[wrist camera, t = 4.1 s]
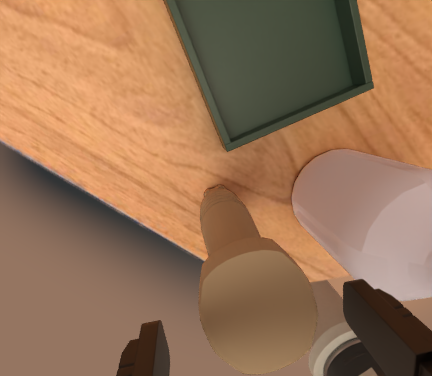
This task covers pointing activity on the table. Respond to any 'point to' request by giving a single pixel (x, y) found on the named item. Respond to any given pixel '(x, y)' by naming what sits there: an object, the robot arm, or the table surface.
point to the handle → (251, 291)
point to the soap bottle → (370, 218)
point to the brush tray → (271, 60)
